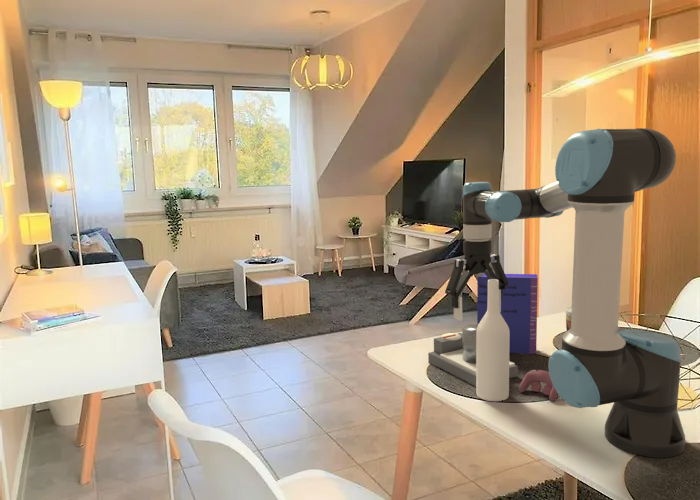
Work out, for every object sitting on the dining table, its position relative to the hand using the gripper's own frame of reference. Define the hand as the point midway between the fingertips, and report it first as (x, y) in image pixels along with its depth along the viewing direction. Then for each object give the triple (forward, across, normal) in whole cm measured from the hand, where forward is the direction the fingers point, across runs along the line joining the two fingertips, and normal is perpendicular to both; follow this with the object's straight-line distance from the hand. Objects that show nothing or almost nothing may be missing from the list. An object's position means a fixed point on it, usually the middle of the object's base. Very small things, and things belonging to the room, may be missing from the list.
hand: (477, 315), depth 160 cm
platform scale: (+16, 0, -3) cm, 17 cm away
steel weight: (+13, 0, 0) cm, 13 cm away
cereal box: (+17, -19, -9) cm, 27 cm away
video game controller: (+17, -4, +20) cm, 26 cm away
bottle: (+17, +7, +14) cm, 23 cm away
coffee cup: (+17, -40, +1) cm, 43 cm away
